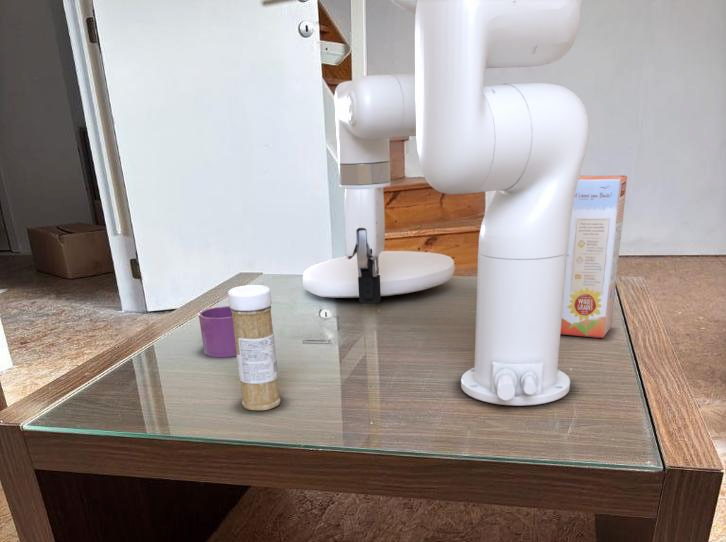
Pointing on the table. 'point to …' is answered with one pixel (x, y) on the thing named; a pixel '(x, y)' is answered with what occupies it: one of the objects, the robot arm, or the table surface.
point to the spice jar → (255, 346)
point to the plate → (395, 273)
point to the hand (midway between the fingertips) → (370, 301)
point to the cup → (218, 332)
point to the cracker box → (593, 255)
